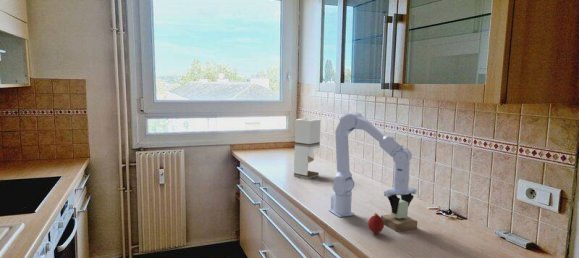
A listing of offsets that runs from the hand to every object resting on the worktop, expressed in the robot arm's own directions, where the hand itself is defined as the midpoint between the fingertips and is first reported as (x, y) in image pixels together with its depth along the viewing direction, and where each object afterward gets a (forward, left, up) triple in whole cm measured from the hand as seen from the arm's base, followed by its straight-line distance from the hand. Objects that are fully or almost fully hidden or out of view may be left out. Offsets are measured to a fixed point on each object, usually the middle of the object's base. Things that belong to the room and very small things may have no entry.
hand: (399, 212), depth 151 cm
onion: (+4, -14, -6) cm, 16 cm away
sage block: (0, 0, -1) cm, 1 cm away
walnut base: (0, 0, -5) cm, 5 cm away
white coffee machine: (-88, +1, -6) cm, 88 cm away
